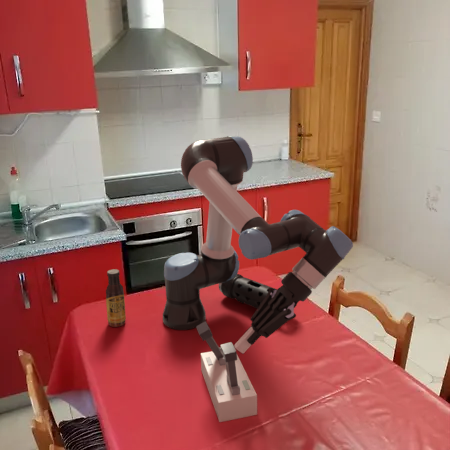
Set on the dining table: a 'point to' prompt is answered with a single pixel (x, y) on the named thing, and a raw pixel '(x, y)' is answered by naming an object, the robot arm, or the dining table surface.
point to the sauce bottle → (115, 300)
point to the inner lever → (209, 339)
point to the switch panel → (228, 389)
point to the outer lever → (230, 362)
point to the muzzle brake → (245, 290)
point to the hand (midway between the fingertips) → (238, 349)
